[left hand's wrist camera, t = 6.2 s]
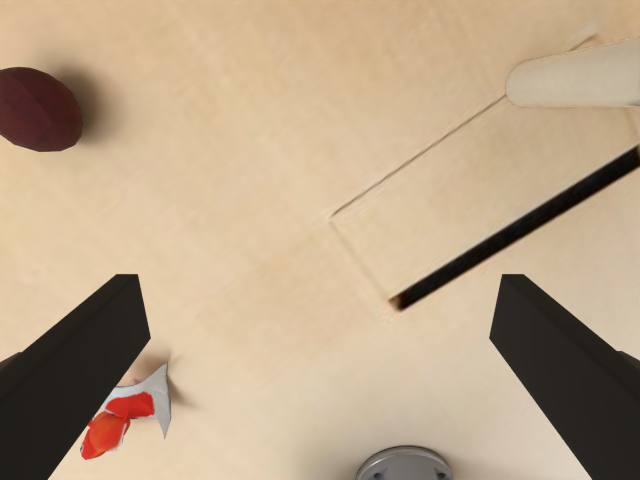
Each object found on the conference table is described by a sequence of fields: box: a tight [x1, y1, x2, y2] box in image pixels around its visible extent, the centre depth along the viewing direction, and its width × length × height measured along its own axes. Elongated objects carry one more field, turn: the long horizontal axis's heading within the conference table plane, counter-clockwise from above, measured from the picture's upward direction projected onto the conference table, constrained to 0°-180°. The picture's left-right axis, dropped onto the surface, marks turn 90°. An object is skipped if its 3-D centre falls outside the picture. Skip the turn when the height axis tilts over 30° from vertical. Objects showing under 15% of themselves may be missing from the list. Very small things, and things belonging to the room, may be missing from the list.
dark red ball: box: [0, 67, 83, 152], centre depth 33 cm, size 7×8×7 cm
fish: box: [80, 362, 171, 460], centre depth 46 cm, size 11×16×10 cm
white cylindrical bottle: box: [506, 36, 640, 107], centre depth 27 cm, size 4×4×18 cm
